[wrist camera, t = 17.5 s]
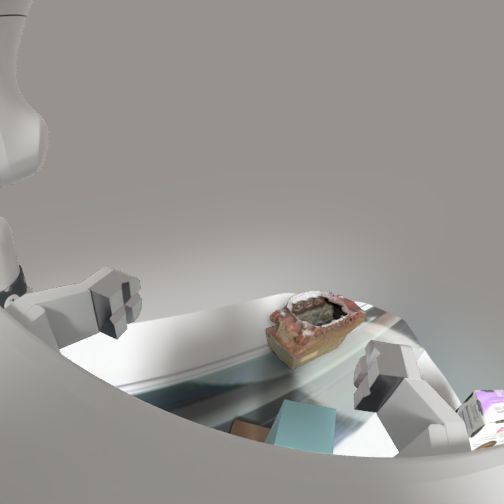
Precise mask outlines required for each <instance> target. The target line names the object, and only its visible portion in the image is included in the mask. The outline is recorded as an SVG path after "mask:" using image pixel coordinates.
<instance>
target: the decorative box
mask: <svg viewBox="0 0 504 504" xmlns="http://www.w3.org/2000/svg"><path fill="white" fill-rule="evenodd" d="M365 316H366V312H365V311H364V310H362V309H361V308H360V307H359V306H357V305H356V304H355V303H354V301H350V300H348V299H346V298H344V296H342V295H337V296H334V295H333V294H332V293H331V292H329V293H327V292H323V291H314V290H313V291H307V292H304V293H300V294H297V295H295V296H293V297H292V298H290V299H289V301H288V304H287V305H286V306H285V307H284V308H283V310H277V311H275V312H273V313H272V315H271V316H270V319H271V321H272V322H274V323H275V324H276V326H275V327H274V326H272V327H269V328H267V329H266V335H267V341H268V347H270V349H272V350H273V352H275V354H276V355H277V356H278V358H279V359H280V360H281V361H283V362H284V363H285V364H286V365H287V366H288V367H289V368H290V369H292V370H293V369H295V368H297V367H299V366H302V365H304V364H306V363H308V362H310V361H312V360H314V359H316V358H318V357H320V356H322V355H324V354H326V353H328V352H330V351H332V350H334V349H336V348H337V347H338V346H339V345H340V344H341V343H342V342H343V340H344V339H345V337H346V335H347V334H349V333H350V332H351V331H352V330H353V329H355V328H356V327H357V326H358V325H359V324H361V323H362V322H363V321H364V319H365Z"/></svg>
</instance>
